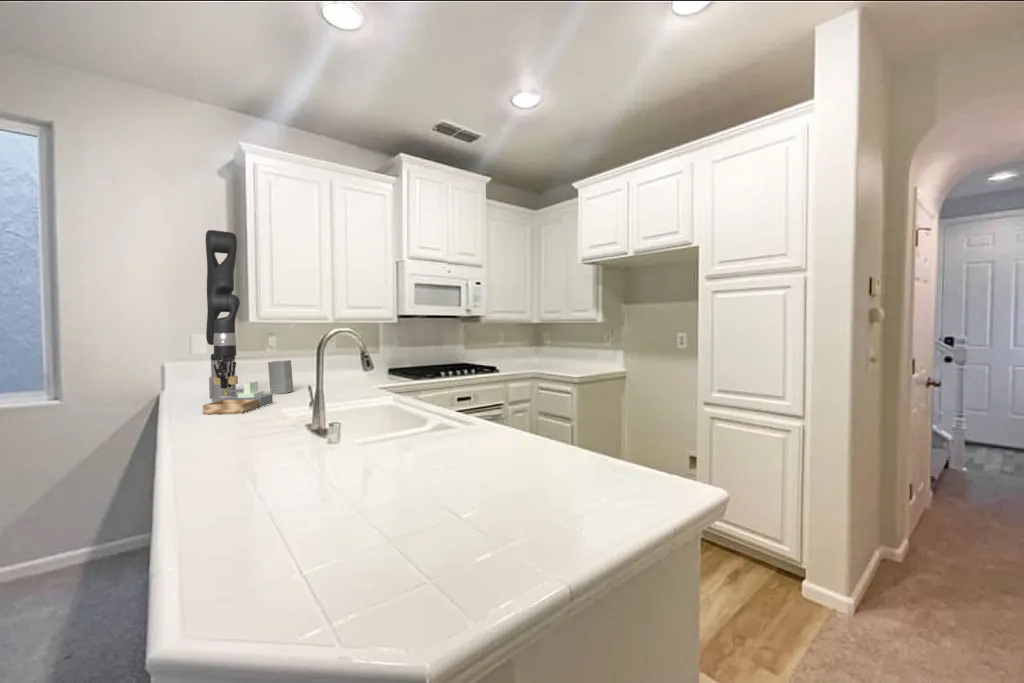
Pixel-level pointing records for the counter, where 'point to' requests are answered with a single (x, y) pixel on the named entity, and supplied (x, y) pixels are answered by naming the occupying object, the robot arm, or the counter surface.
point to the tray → (230, 406)
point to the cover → (250, 390)
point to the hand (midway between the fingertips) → (225, 387)
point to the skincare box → (280, 376)
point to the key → (229, 381)
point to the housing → (262, 399)
